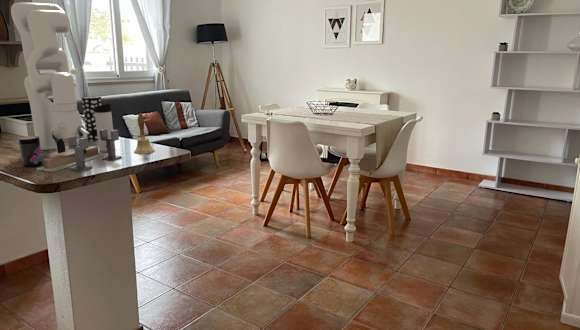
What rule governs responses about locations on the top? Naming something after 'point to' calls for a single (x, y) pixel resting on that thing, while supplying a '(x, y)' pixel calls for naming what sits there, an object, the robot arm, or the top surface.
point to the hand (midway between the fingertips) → (72, 153)
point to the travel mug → (103, 124)
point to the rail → (68, 158)
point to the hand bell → (143, 139)
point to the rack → (84, 145)
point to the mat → (71, 163)
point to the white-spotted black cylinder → (90, 116)
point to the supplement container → (30, 151)
